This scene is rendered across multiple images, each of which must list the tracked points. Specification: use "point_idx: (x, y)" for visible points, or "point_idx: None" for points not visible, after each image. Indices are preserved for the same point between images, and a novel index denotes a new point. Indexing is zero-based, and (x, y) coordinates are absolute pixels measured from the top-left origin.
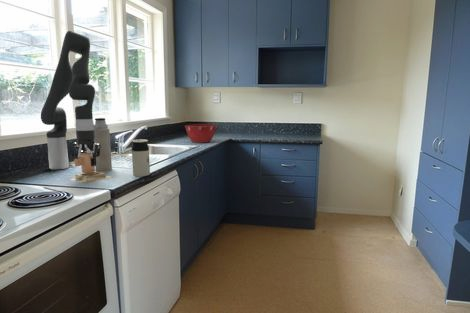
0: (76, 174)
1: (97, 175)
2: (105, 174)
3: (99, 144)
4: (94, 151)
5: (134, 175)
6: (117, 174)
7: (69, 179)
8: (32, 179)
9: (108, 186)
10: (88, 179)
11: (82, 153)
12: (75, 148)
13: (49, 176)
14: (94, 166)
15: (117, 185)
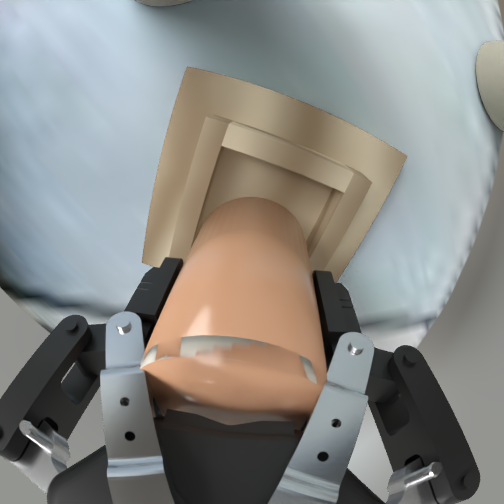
0: None
1: (336, 244)
2: (368, 180)
3: (466, 490)
4: (386, 443)
5: (499, 122)
6: (344, 3)
7: (155, 266)
8: (8, 246)
9: (415, 291)
10: None
11: None
12: (69, 430)
13: (4, 187)
14: (307, 254)
15: (447, 270)
